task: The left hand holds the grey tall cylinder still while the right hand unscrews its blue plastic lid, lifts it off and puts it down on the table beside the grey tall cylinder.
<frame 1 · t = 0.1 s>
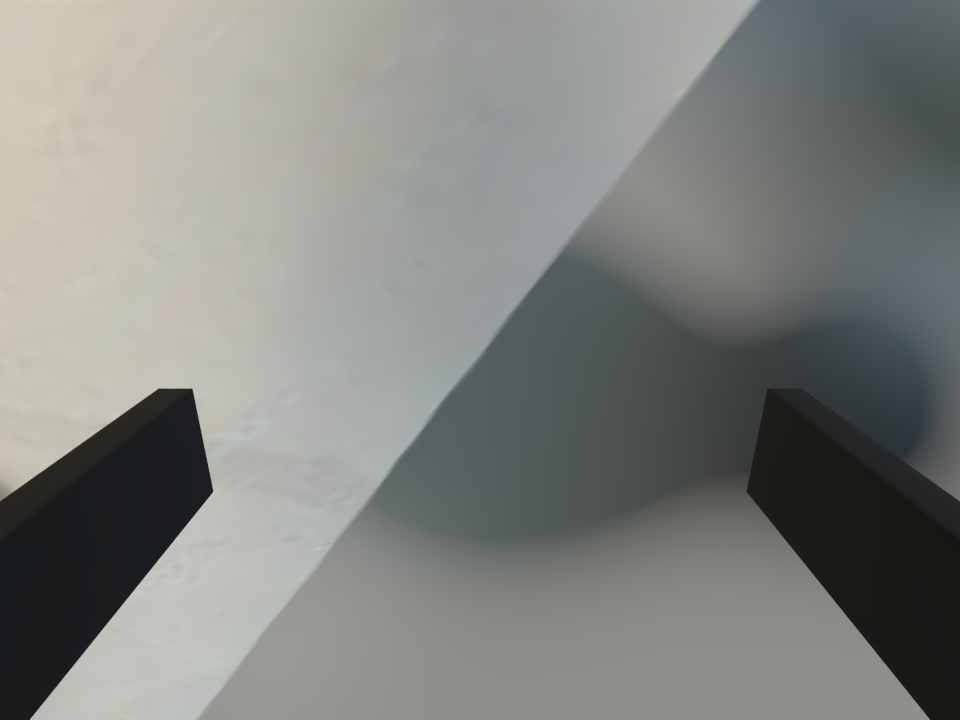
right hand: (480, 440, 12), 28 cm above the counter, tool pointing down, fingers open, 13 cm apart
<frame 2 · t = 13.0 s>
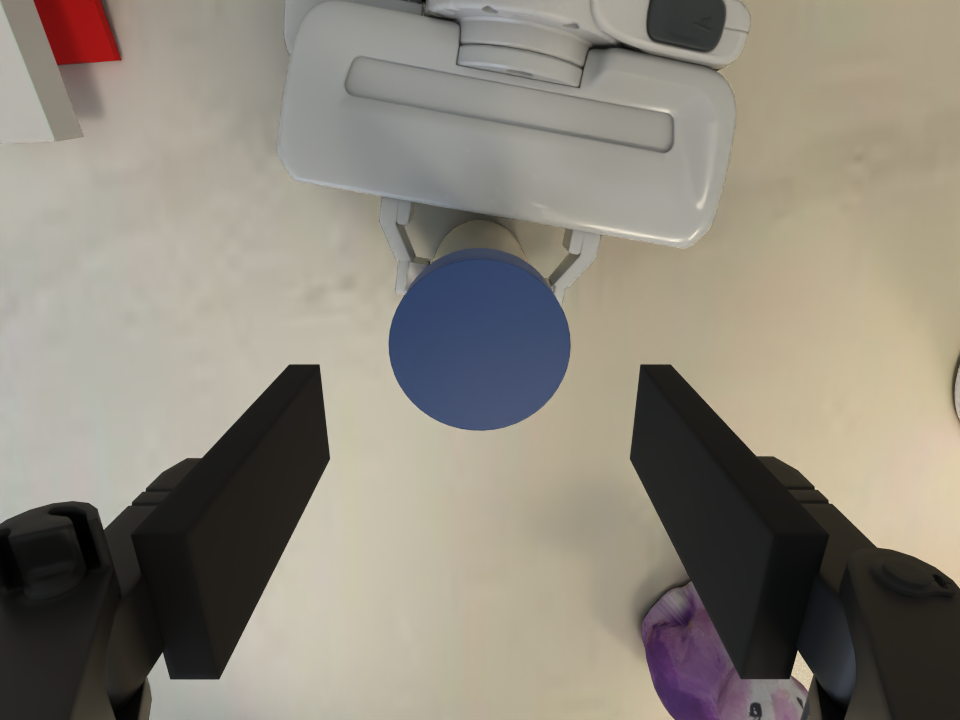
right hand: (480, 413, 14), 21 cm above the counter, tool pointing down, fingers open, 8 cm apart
left hand: (477, 304, 28), fingers closed on grey tall cylinder, 5 cm apart
lid: (479, 346, 19), point 16 cm above the counter, screwed on, not yet turned
figurine: (688, 615, 43), on the counter
grey tall cylinder: (479, 265, 33), on the counter, touching left hand
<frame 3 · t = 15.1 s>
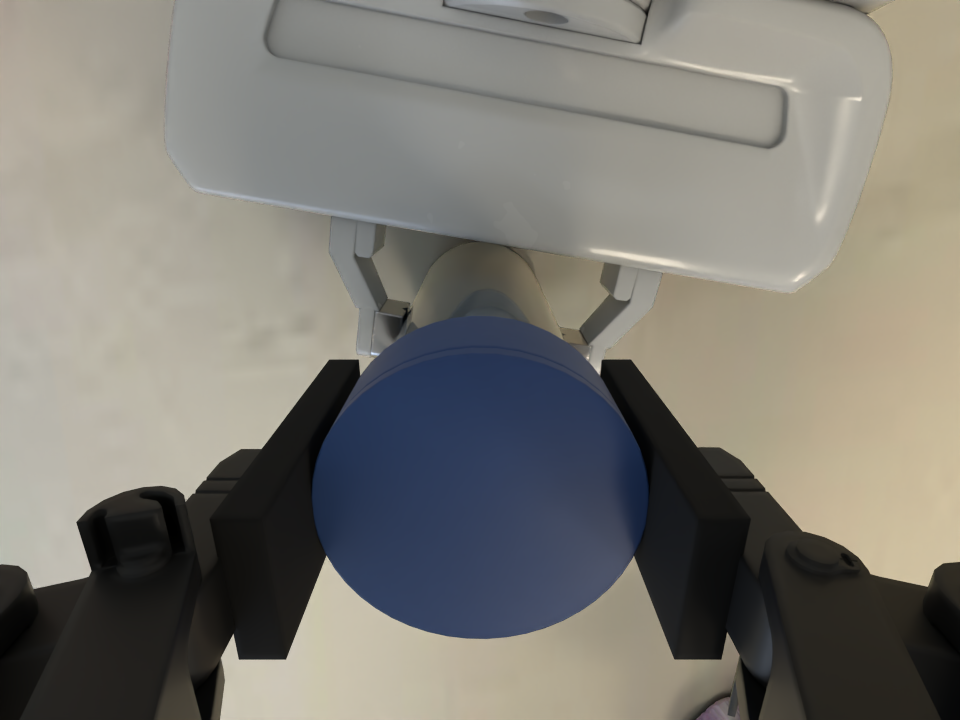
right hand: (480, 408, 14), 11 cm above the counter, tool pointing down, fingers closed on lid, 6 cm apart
left hand: (477, 368, 19), fingers closed on grey tall cylinder, 5 cm apart
lid: (480, 501, 10), point 16 cm above the counter, screwed on, not yet turned, touching right hand
grey tall cylinder: (480, 301, 25), on the counter, touching left hand
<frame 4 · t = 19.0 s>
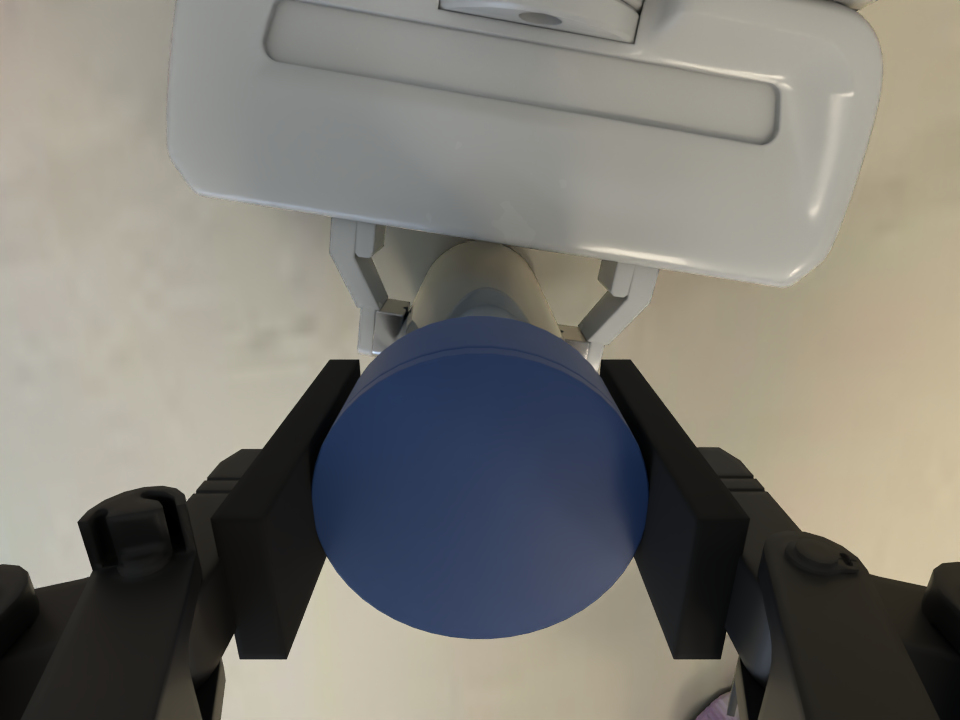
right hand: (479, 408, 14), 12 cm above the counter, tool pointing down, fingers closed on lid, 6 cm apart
left hand: (477, 366, 19), fingers closed on grey tall cylinder, 5 cm apart
lid: (480, 501, 10), point 16 cm above the counter, turned 143° so far, risen 0.2 cm, still on its thread, touching right hand
grey tall cylinder: (480, 300, 25), on the counter, touching left hand
when the right hand's fingers open (0 cm above the counter, at t = 30.8 s): lid drops 2 cm, point 2 cm above the counter.
when the left hand's fingers open (6 cm above the counter, at t = 31.6 s): grey tall cylinder stays where it is, on the counter.
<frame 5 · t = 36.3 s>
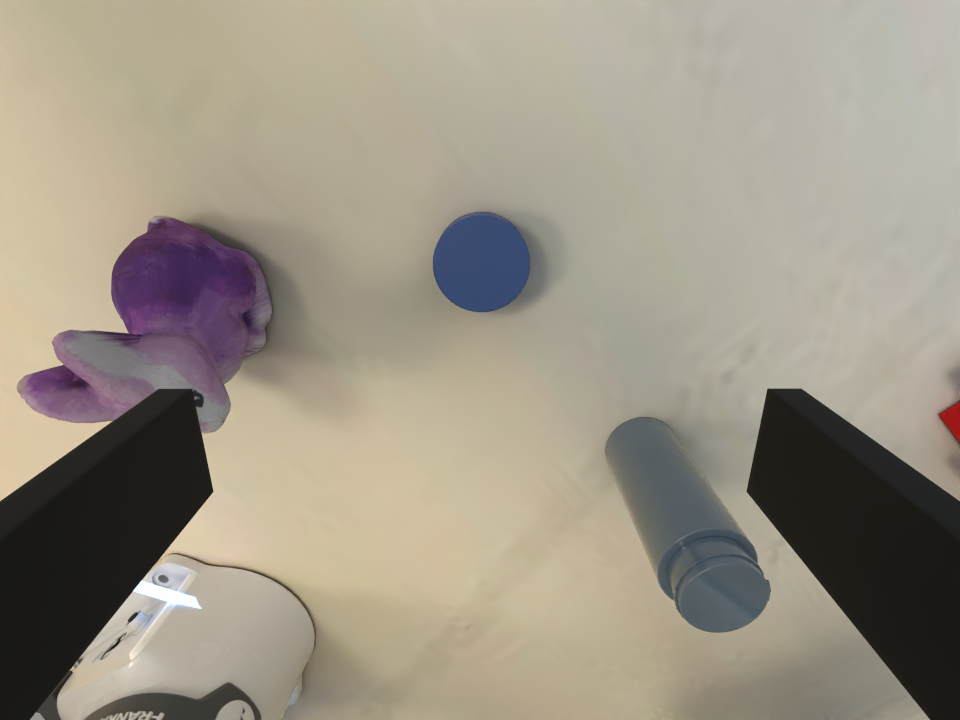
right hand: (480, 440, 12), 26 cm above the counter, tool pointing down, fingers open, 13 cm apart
lid: (481, 264, 35), point 2 cm above the counter, off its thread
figurine: (225, 298, 38), on the counter
grey tall cylinder: (640, 448, 42), on the counter
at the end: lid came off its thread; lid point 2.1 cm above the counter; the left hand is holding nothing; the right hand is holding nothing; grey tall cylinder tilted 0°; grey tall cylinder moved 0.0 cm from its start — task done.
